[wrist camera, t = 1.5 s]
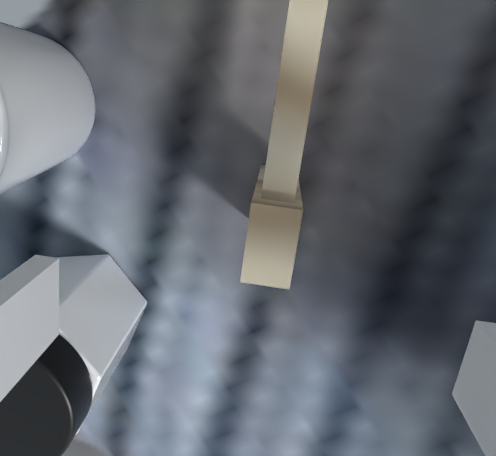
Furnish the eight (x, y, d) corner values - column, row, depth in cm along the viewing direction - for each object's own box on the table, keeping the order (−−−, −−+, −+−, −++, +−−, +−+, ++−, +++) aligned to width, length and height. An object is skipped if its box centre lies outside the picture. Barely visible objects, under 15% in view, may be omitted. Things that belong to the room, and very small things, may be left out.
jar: (56, 229, 33) (-63, 307, 22) (160, 276, 34) (98, 377, 22) (22, 327, 36) (-100, 443, 24) (119, 370, 36) (44, 502, 25)
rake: (357, 237, 32) (388, 304, 22) (184, 211, 32) (142, 267, 22) (461, -240, 24) (580, -456, 14) (228, -268, 24) (192, -496, 14)
